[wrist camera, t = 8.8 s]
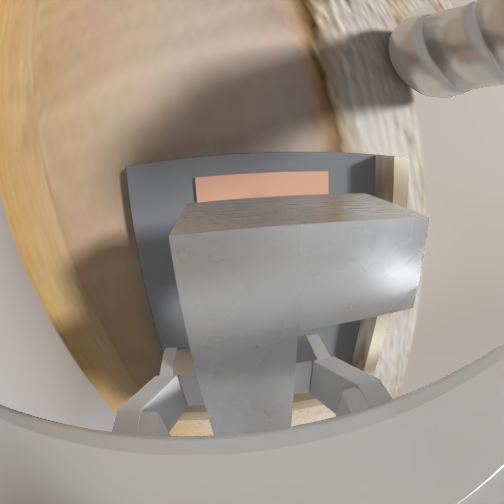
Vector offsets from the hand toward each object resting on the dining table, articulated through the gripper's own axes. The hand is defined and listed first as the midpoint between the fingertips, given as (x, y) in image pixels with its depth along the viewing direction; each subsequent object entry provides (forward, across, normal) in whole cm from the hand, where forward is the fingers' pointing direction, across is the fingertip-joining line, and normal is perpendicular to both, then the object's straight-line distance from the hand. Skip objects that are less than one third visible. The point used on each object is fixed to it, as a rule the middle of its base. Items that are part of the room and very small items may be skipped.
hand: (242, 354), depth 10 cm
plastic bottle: (+9, -15, -15) cm, 23 cm away
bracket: (+2, -2, +1) cm, 3 cm away
